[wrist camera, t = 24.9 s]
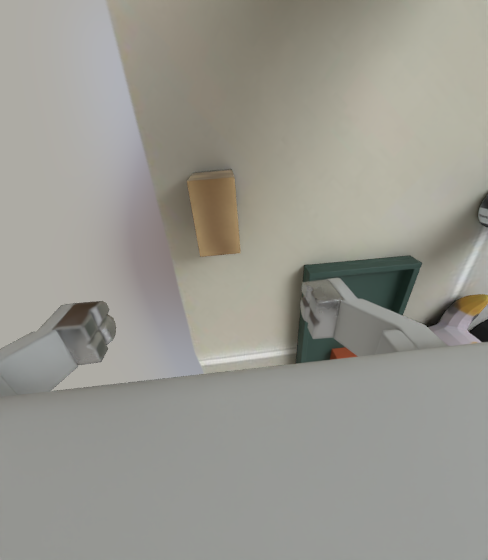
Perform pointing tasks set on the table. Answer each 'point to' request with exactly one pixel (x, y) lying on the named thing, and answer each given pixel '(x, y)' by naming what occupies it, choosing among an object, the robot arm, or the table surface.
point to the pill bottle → (484, 212)
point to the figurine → (460, 320)
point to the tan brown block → (214, 212)
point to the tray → (359, 293)
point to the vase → (481, 332)
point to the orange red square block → (341, 353)
